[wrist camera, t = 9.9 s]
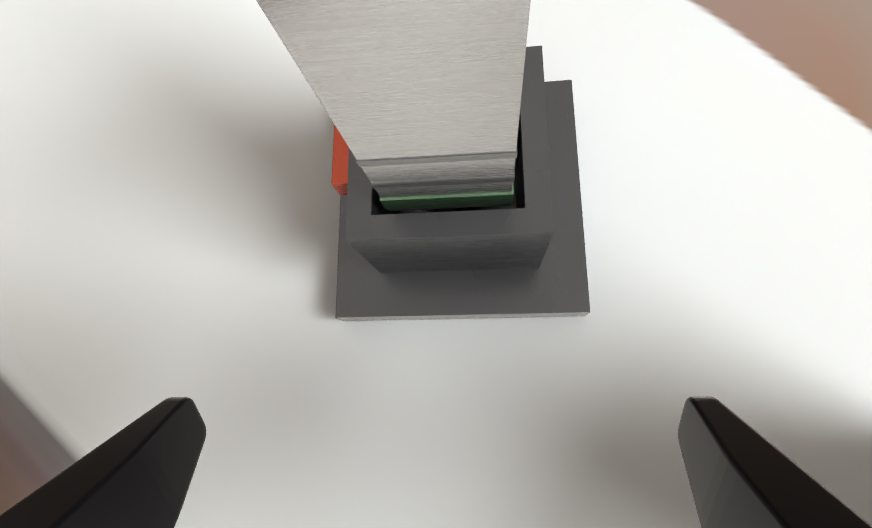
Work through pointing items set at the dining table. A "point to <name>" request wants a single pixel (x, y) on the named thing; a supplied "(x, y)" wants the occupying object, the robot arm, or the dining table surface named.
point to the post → (417, 91)
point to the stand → (473, 232)
